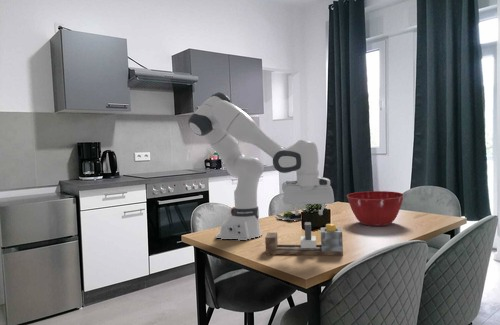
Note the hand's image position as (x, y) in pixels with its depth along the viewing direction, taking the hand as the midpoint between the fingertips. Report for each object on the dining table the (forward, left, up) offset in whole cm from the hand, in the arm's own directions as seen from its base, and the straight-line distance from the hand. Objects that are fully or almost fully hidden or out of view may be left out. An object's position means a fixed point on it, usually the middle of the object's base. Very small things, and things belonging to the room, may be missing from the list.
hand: (308, 214), depth 144 cm
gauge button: (+9, -1, -8) cm, 12 cm away
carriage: (-1, -1, -12) cm, 12 cm away
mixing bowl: (+34, +50, -15) cm, 62 cm away
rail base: (-2, -1, -15) cm, 15 cm away
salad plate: (-10, +65, -16) cm, 68 cm away
